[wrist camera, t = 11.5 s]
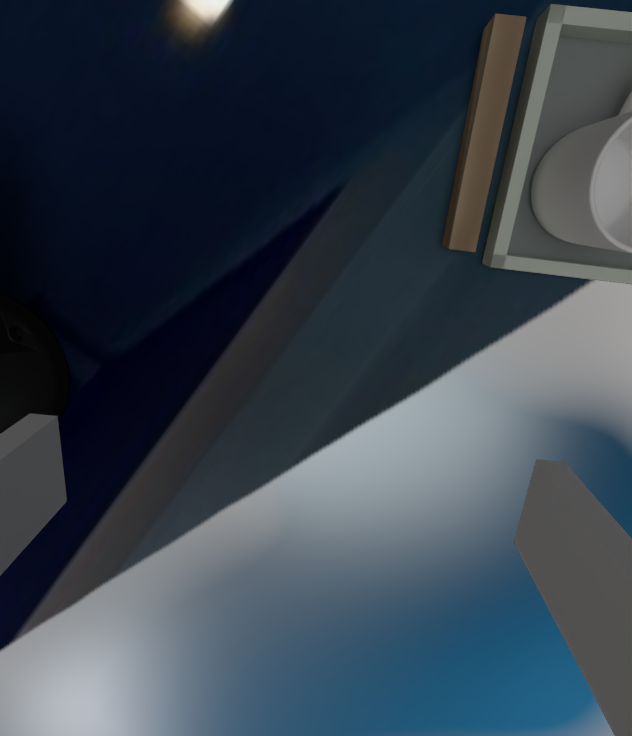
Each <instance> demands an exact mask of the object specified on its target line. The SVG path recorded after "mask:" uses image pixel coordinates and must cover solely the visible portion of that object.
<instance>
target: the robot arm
mask: <svg viewBox="0 0 632 736" xmlns="http://www.w3.org/2000/svg"><path fill="white" fill-rule="evenodd" d="M68 392H69V374H68V368H67V364H66V360H65V357H64V355H63V352H62V350H61V348H60V346H59V344H58V342H57V340H56V339H55V337H54V336H53V334H52V333H51V331H50V330H49V329H48V327H47V326H46V325H45V324H44V323H43V322H42V321H41V320H40V319H39V318H38V317H37V316H36V315H35V314H34V313H33V312H31V311H30V310H29V309H28V308H26V307H25V306H23V305H22V304H20V303H19V302H17V301H15V300H13V299H11V298H9V297H7V296H5V295H2V294H0V575H1V574H2V573H3V572H4V571H5V570H6V569H7V567H8V566H9V565H10V564H11V563H12V562H13V561H14V560H15V558H16V557H17V556H18V555H19V554H20V553H21V552H22V551H23V550H24V548H25V547H26V546H27V545H28V544H29V543H30V542H31V541H32V539H33V538H34V537H35V536H36V535H37V534H38V533H39V532H40V531H41V529H42V528H43V527H44V526H45V525H46V524H47V523H48V522H49V520H50V519H51V518H52V517H53V516H54V515H55V514H56V513H57V512H58V510H59V509H60V508H61V507H62V506H63V505H64V504H65V503H66V501H67V498H66V489H65V480H64V471H63V462H62V453H61V444H60V435H59V425H58V418H59V416H60V415H61V413H62V411H63V409H64V407H65V404H66V401H67V398H68ZM514 543H515V545H516V548H517V549H518V551H519V553H520V555H521V557H522V559H523V561H524V563H525V565H526V567H527V569H528V570H529V572H530V574H531V576H532V578H533V580H534V582H535V584H536V586H537V587H538V590H539V592H540V593H541V595H542V597H543V599H544V601H545V603H546V605H547V607H548V609H549V611H550V613H551V614H552V616H553V618H554V620H555V622H556V624H557V626H558V628H559V630H560V632H561V633H562V635H563V637H564V639H565V641H566V643H567V645H568V647H569V648H570V651H571V653H572V654H573V656H574V658H575V660H576V662H577V664H578V666H579V668H580V670H581V671H582V674H583V676H584V677H585V679H586V681H587V683H588V685H589V687H590V689H591V691H592V693H593V695H594V697H595V698H596V700H597V702H598V704H599V706H600V708H601V710H602V712H603V714H604V716H605V718H606V720H607V722H608V723H609V725H610V727H611V729H612V731H613V733H614V735H615V736H632V539H631V538H630V536H629V535H628V534H627V533H626V532H625V531H624V530H623V528H622V527H621V526H620V525H619V524H618V523H617V522H616V520H615V519H614V518H613V517H612V516H611V515H610V514H609V512H608V511H607V510H606V509H605V508H604V507H603V506H602V504H601V503H600V502H599V501H598V500H597V499H596V498H595V496H594V495H593V494H592V493H591V492H590V491H589V490H588V489H587V487H586V486H585V485H584V484H583V483H582V482H581V481H580V479H579V478H578V477H577V476H576V475H575V474H574V473H573V472H572V470H571V469H570V468H569V467H568V466H567V465H566V463H565V462H557V461H547V460H536V462H535V466H534V469H533V473H532V477H531V480H530V484H529V488H528V491H527V495H526V499H525V503H524V507H523V510H522V514H521V518H520V521H519V525H518V529H517V533H516V536H515V540H514Z"/></svg>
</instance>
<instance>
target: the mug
mask: <svg viewBox="0 0 632 736" xmlns="http://www.w3.org/2000/svg"><path fill="white" fill-rule="evenodd" d="M531 203H532V208H533V211H534V214H535V216H536V218H537V220H538V222H539V223H540V225H541V226H542V227H543V228H544V229H545V230H546V231H547V232H549V233H550V234H551V235H553V236H555V237H556V238H558V239H561V240H563V241H566V242H570V243H575V244H580V245H586V246H591V247H597V248H603V249H608V250H614V251H620V252H626V253H631V254H632V91H631V93H630V94H629V96H628V98H627V99H626V101H625V103H624V105H623V107H622V109H621V111H620V113H619V115H618V116H615V117H612V118H609V119H606V120H603V121H600V122H597V123H594V124H591V125H588V126H585V127H582V128H580V129H578V130H576V131H573V132H571V133H569V134H568V135H566V136H565V137H563V138H562V139H560V140H559V141H558V142H557V143H555V144H554V145H553V146H552V147H551V148H550V149H549V150H548V152H547V153H546V154H545V155H544V157H543V158H542V160H541V161H540V163H539V165H538V167H537V169H536V171H535V174H534V177H533V181H532V185H531Z"/></svg>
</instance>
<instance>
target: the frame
mask: <svg viewBox="0 0 632 736" xmlns="http://www.w3.org/2000/svg"><path fill="white" fill-rule="evenodd" d="M631 91H632V12H622V11H613V10H603V9H593V8H584V7H574V6H565V5H555V4H551V5H550V6H549V7H548V8H547V9H546V10H545V11H544V12H543V13H542V14H541V15H540V16H539V17H538V18H537V20H536V24H535V29H534V33H533V38H532V42H531V47H530V51H529V56H528V60H527V64H526V69H525V73H524V78H523V82H522V87H521V91H520V96H519V100H518V105H517V109H516V114H515V118H514V122H513V127H512V131H511V136H510V140H509V145H508V149H507V154H506V158H505V163H504V167H503V172H502V176H501V180H500V185H499V189H498V194H497V198H496V203H495V207H494V212H493V216H492V221H491V225H490V230H489V234H488V238H487V243H486V247H485V252H484V256H483V261H482V264H485V265H487V266H489V267H493V268H502V269H510V270H518V271H526V272H535V273H543V274H551V275H559V276H567V277H576V278H584V279H592V280H600V281H609V282H617V283H626V284H632V254H631V253H626V252H620V251H614V250H608V249H603V248H597V247H591V246H586V245H580V244H575V243H570V242H566V241H563V240H561V239H558V238H556V237H555V236H553V235H551V234H550V233H549V232H547V231H546V230H545V229H544V228H543V227H542V226H541V225H540V223H539V222H538V220H537V218H536V216H535V214H534V211H533V208H532V203H531V185H532V181H533V177H534V174H535V171H536V169H537V167H538V165H539V163H540V161H541V160H542V158H543V157H544V155H545V154H546V153H547V152H548V150H549V149H550V148H551V147H552V146H553V145H554V144H555V143H557V142H558V141H559V140H560V139H562V138H563V137H565V136H566V135H568V134H569V133H571V132H573V131H576V130H578V129H580V128H582V127H585V126H588V125H591V124H594V123H597V122H600V121H603V120H606V119H609V118H612V117H615V116H618V115H619V113H620V111H621V109H622V107H623V105H624V103H625V101H626V99H627V98H628V96H629V94H630V93H631Z"/></svg>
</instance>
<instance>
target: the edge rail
mask: <svg viewBox="0 0 632 736" xmlns="http://www.w3.org/2000/svg"><path fill="white" fill-rule="evenodd" d="M525 22H526V17H523V16H513V15H504V14H495V15H494V16H493V18H492V19H491V20H490V22H489V23H488V24H487V26H486V27H485V28H484V30H483V35H482V40H481V45H480V51H479V56H478V61H477V66H476V71H475V76H474V81H473V87H472V92H471V97H470V102H469V107H468V112H467V118H466V123H465V128H464V133H463V138H462V143H461V148H460V154H459V159H458V164H457V169H456V174H455V179H454V184H453V190H452V195H451V200H450V205H449V210H448V215H447V221H446V226H445V231H444V236H443V241H442V246H443V247H446V248H448V249H453V250H462V251H470V252H475V251H476V246H477V242H478V237H479V233H480V228H481V224H482V219H483V214H484V210H485V205H486V201H487V196H488V191H489V187H490V182H491V178H492V173H493V168H494V164H495V159H496V155H497V150H498V146H499V141H500V136H501V132H502V127H503V123H504V118H505V113H506V109H507V104H508V100H509V95H510V90H511V86H512V81H513V77H514V72H515V68H516V63H517V58H518V54H519V49H520V45H521V40H522V35H523V31H524V26H525Z"/></svg>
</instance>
